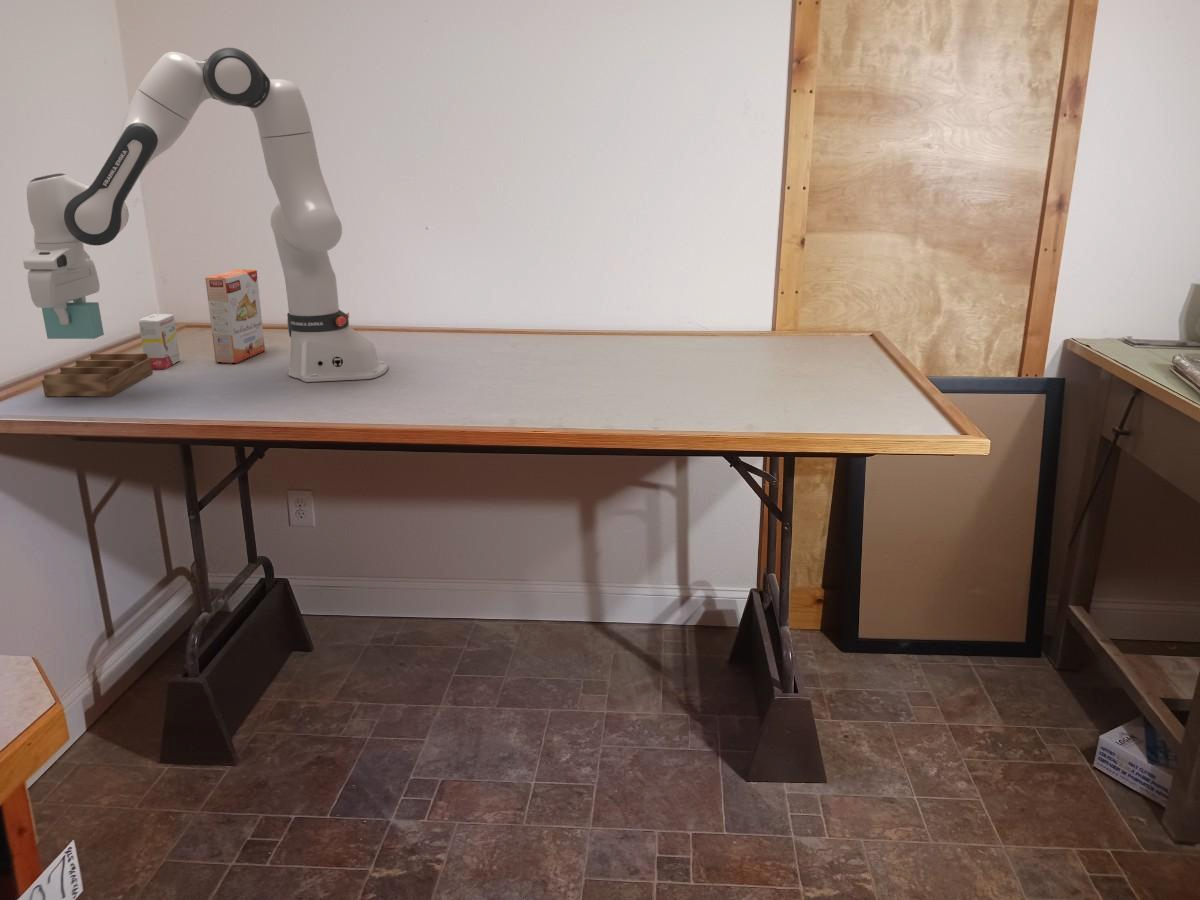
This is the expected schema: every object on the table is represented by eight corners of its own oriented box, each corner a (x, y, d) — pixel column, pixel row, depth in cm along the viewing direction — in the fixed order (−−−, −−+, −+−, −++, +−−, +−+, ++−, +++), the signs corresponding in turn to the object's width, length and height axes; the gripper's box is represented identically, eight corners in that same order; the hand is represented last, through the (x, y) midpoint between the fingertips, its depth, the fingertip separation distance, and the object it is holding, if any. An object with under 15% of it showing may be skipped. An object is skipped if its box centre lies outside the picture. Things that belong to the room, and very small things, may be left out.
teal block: (57, 334, 209) (51, 302, 207) (103, 334, 209) (98, 302, 207) (47, 338, 205) (41, 305, 203) (94, 338, 205) (88, 305, 203)
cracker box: (237, 364, 234) (226, 277, 227) (214, 363, 235) (202, 276, 229) (267, 351, 247) (257, 268, 240) (245, 350, 248) (235, 268, 242)
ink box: (165, 369, 230) (157, 320, 226) (144, 369, 230) (136, 320, 226) (181, 361, 238) (174, 313, 234) (162, 361, 238) (154, 313, 234)
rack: (152, 373, 226) (149, 353, 225) (110, 396, 208) (106, 374, 206) (92, 373, 227) (88, 353, 225) (45, 396, 208) (40, 375, 206)
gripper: (72, 249, 211) (83, 312, 216) (17, 262, 192) (31, 331, 197) (101, 249, 211) (112, 312, 216) (49, 262, 192) (62, 331, 196)
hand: (73, 321), depth 206 cm, fingers closed on teal block, 4 cm apart
